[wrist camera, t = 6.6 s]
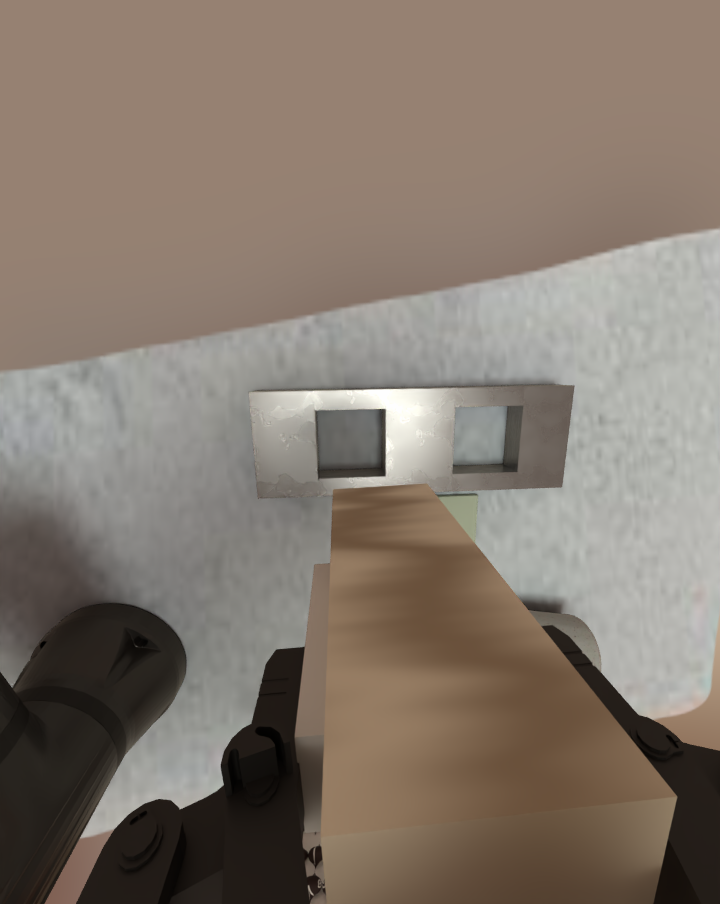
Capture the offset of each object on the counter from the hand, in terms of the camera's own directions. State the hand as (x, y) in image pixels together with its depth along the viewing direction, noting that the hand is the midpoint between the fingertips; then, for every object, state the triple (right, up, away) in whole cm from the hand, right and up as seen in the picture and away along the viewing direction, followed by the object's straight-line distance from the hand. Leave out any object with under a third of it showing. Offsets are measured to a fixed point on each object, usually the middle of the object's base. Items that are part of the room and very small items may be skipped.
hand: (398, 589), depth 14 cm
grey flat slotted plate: (+3, +7, +22) cm, 23 cm away
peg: (0, +1, +5) cm, 5 cm away
